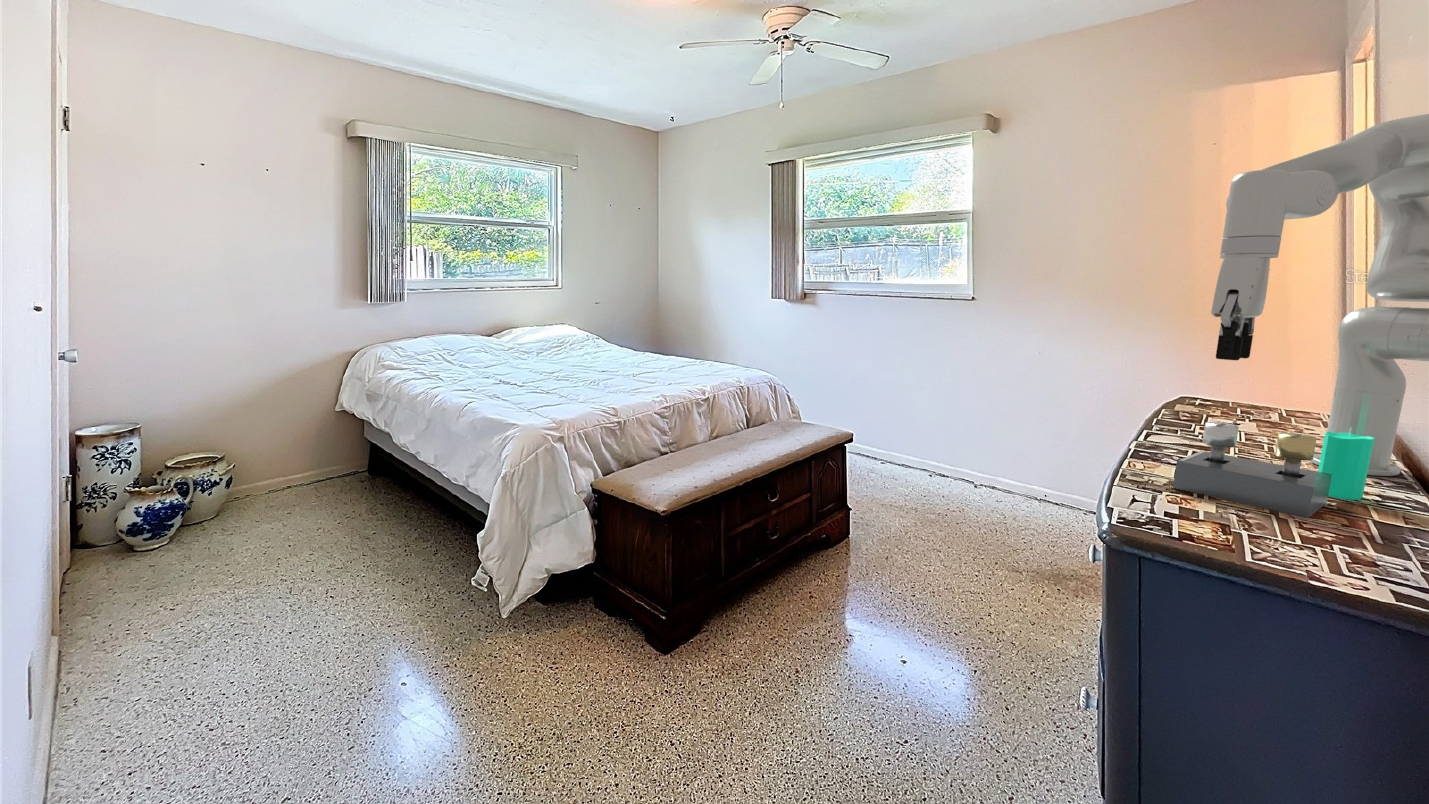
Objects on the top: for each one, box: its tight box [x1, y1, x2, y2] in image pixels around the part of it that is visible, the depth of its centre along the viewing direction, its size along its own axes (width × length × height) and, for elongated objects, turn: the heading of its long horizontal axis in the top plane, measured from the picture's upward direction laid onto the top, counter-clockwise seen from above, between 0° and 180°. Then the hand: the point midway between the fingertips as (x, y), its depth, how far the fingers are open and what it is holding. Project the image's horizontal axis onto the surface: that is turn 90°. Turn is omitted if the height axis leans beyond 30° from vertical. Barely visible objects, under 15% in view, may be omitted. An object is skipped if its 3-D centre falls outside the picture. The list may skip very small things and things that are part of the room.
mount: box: [1172, 450, 1332, 519], centre depth 109 cm, size 12×18×5 cm, turn 36°
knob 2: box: [1274, 432, 1317, 478], centre depth 104 cm, size 5×5×8 cm
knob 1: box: [1202, 421, 1240, 464], centre depth 112 cm, size 5×5×8 cm
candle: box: [1318, 427, 1374, 501], centre depth 109 cm, size 6×6×12 cm
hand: (1232, 357), depth 109 cm, fingers open, 4 cm apart
